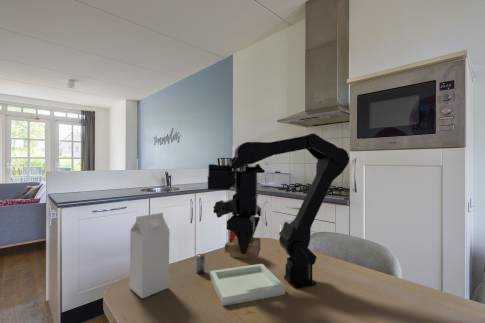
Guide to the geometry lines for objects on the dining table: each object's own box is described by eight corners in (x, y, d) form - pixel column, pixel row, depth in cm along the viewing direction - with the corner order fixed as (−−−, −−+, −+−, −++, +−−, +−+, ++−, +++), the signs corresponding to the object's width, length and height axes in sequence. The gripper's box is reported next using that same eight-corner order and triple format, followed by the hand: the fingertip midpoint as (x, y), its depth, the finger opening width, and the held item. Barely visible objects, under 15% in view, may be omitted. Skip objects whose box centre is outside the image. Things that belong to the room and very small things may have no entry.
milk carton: (129, 288, 62) (130, 214, 62) (155, 279, 67) (156, 210, 67) (141, 299, 57) (142, 219, 57) (168, 288, 62) (169, 214, 62)
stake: (203, 270, 73) (203, 253, 73) (205, 273, 71) (205, 256, 71) (195, 271, 72) (195, 254, 72) (197, 274, 70) (197, 257, 70)
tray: (262, 270, 73) (262, 263, 73) (285, 294, 60) (285, 286, 60) (210, 278, 68) (210, 271, 68) (222, 306, 54) (222, 297, 54)
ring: (260, 248, 67) (260, 238, 67) (257, 258, 60) (257, 246, 60) (228, 246, 68) (228, 236, 68) (222, 255, 61) (222, 244, 61)
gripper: (225, 186, 75) (225, 236, 74) (205, 193, 56) (205, 260, 56) (261, 186, 73) (261, 238, 72) (252, 194, 54) (252, 264, 54)
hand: (245, 248), depth 64 cm, fingers closed on ring, 7 cm apart
